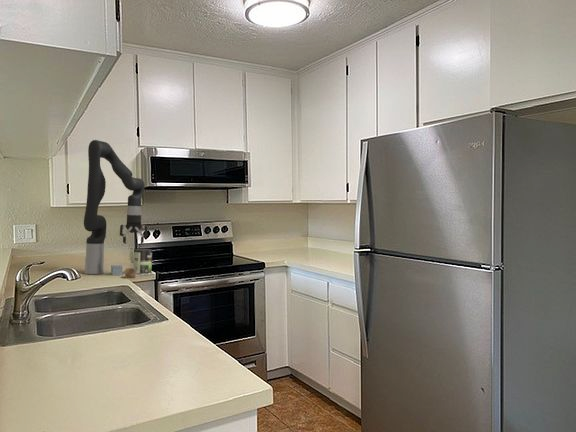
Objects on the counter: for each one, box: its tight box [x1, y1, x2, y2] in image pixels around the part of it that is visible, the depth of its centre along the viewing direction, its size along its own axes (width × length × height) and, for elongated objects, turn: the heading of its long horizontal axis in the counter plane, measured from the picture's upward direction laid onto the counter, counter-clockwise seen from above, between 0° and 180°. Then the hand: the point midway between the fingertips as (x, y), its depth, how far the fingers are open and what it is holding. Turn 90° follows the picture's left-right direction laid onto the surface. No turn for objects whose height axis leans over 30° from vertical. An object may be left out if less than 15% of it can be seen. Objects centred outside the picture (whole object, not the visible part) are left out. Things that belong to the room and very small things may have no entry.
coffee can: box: [133, 248, 153, 276], centre depth 249 cm, size 10×10×14 cm
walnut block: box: [124, 267, 136, 279], centre depth 235 cm, size 5×5×5 cm
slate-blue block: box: [110, 264, 123, 276], centre depth 245 cm, size 5×5×5 cm
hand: (133, 243), depth 236 cm, fingers open, 8 cm apart
